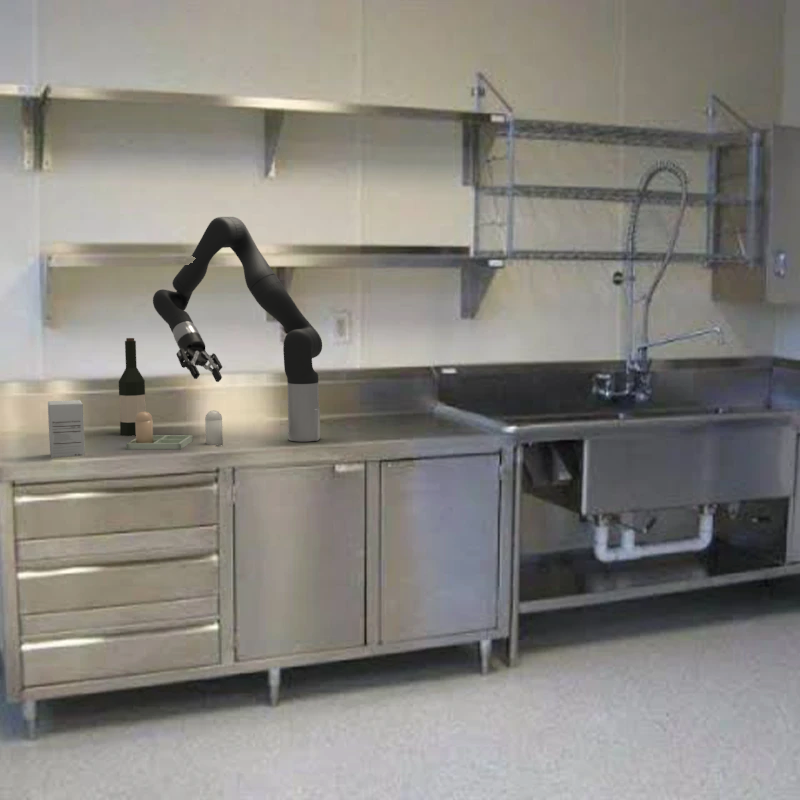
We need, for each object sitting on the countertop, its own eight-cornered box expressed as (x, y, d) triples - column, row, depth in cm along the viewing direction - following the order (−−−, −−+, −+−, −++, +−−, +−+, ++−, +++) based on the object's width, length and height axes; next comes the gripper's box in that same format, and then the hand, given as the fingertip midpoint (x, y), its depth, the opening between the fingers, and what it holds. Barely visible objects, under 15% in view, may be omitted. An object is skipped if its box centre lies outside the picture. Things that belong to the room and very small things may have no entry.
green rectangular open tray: (193, 442, 308) (192, 435, 308) (180, 451, 293) (180, 443, 293) (141, 442, 309) (141, 435, 308) (126, 451, 293) (126, 443, 293)
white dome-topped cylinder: (224, 443, 306) (223, 409, 304) (220, 446, 301) (220, 411, 300) (207, 443, 306) (206, 409, 305) (204, 446, 301) (203, 411, 300)
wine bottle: (124, 436, 320) (121, 339, 317) (116, 433, 327) (112, 338, 324) (151, 434, 325) (147, 338, 321) (141, 431, 332) (138, 337, 328)
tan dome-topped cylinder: (155, 445, 300) (154, 410, 298) (150, 448, 295) (149, 412, 294) (138, 445, 300) (137, 410, 298) (134, 448, 295) (132, 412, 294)
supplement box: (49, 454, 289) (47, 400, 287) (83, 452, 292) (81, 399, 290) (50, 459, 281) (48, 404, 279) (85, 457, 284) (83, 402, 282)
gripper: (176, 328, 314) (196, 367, 306) (213, 334, 325) (233, 373, 317) (163, 344, 317) (183, 384, 310) (200, 350, 328) (219, 389, 320)
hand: (208, 378), depth 313 cm, fingers open, 8 cm apart
